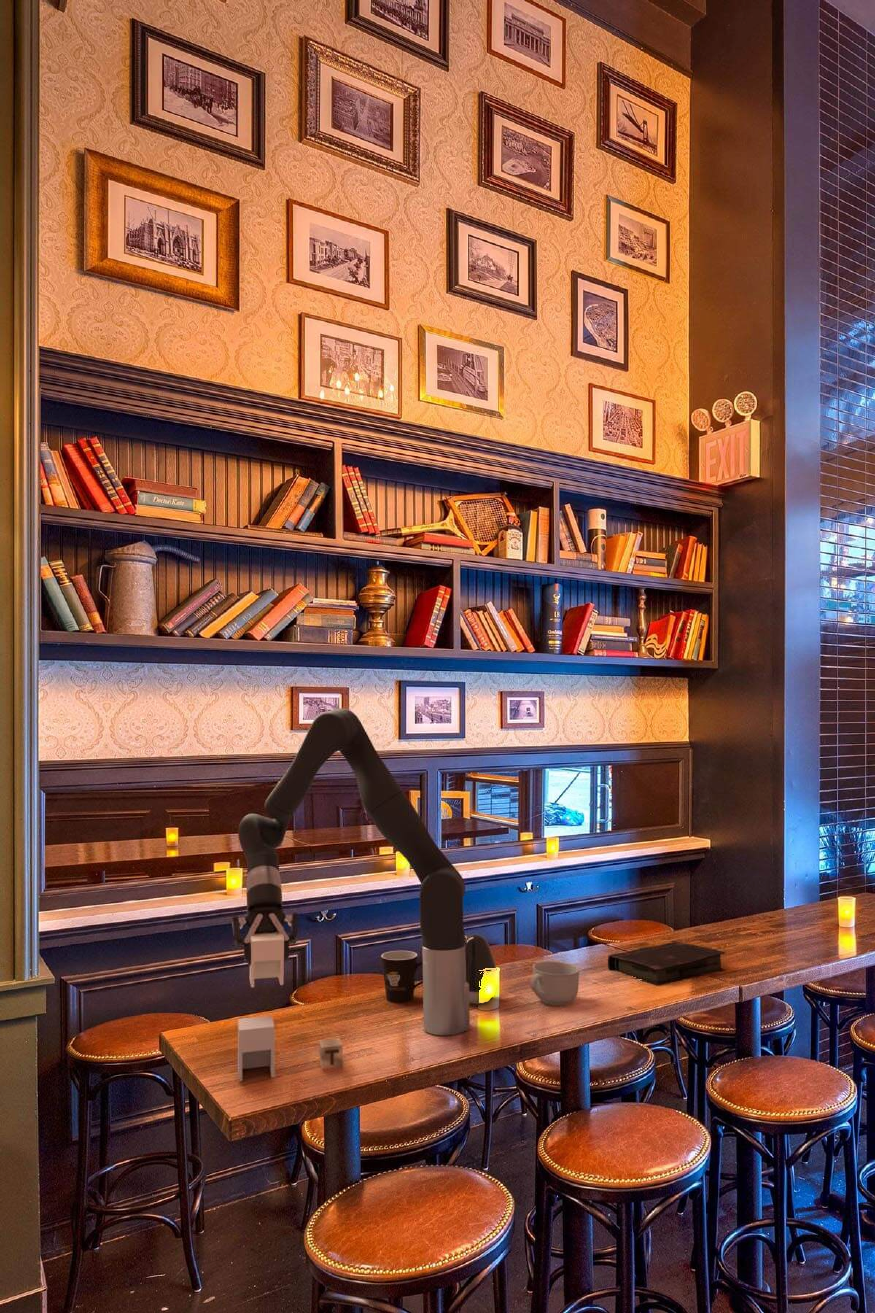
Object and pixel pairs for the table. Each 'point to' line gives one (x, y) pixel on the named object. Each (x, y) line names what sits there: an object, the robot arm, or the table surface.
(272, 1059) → the grey cover
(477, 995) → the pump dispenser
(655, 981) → the diary
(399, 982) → the coffee mug
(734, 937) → the table surface
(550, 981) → the teacup
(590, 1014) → the table surface
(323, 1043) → the letter cube
